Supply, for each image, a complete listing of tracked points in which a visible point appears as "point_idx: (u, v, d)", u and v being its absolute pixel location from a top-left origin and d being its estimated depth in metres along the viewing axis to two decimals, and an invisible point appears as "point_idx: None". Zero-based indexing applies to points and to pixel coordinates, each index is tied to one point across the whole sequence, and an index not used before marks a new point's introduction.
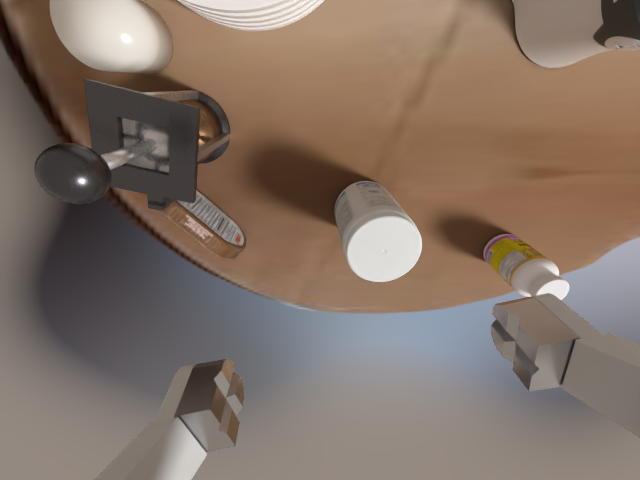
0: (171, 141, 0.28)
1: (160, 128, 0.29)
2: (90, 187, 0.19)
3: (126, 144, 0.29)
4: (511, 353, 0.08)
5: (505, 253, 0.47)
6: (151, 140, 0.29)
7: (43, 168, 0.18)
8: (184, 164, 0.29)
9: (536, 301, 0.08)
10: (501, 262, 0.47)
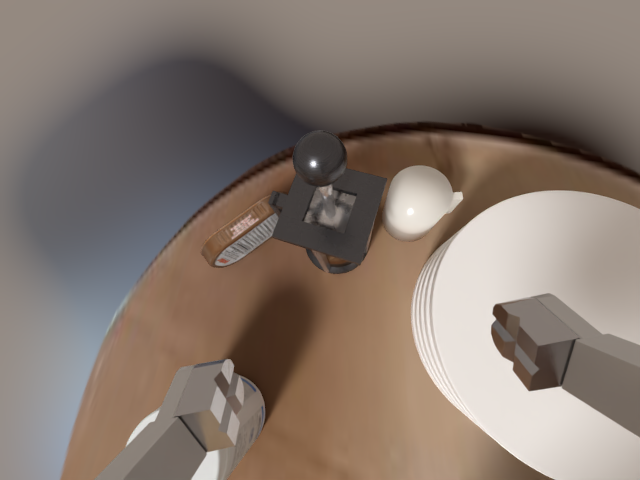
0: (333, 232, 0.29)
1: (344, 224, 0.31)
2: (307, 170, 0.20)
3: (332, 191, 0.32)
4: (511, 353, 0.08)
5: None
6: (334, 214, 0.31)
7: (329, 140, 0.20)
8: (310, 238, 0.29)
9: (536, 301, 0.08)
10: None
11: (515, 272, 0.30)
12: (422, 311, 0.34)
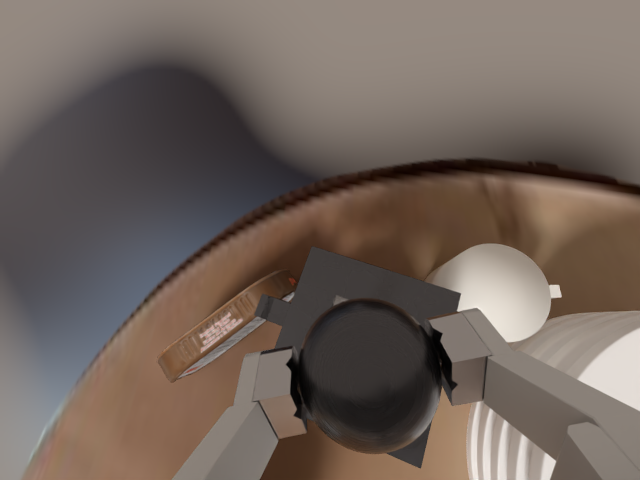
0: None
1: None
2: (339, 439, 0.07)
3: None
4: None
5: None
6: None
7: (406, 364, 0.07)
8: None
9: (462, 316, 0.08)
10: None
11: None
12: None
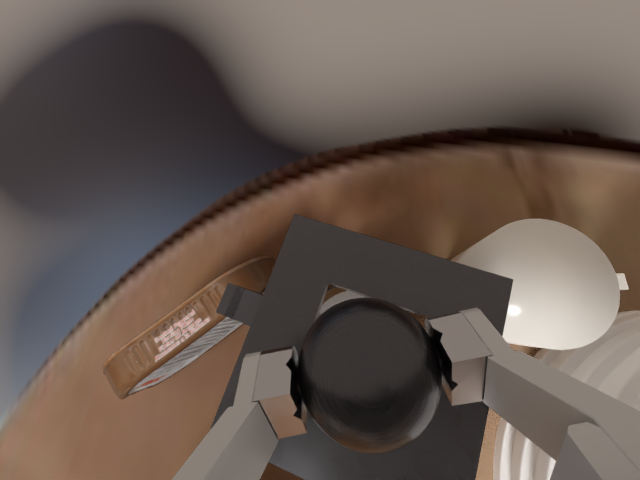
0: None
1: None
2: (339, 439, 0.07)
3: None
4: None
5: None
6: None
7: (406, 363, 0.07)
8: (312, 449, 0.11)
9: (462, 316, 0.08)
10: None
11: None
12: None
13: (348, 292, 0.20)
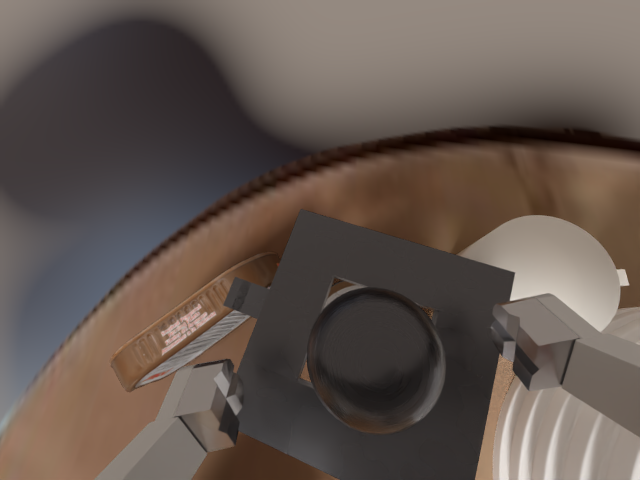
0: None
1: None
2: (347, 420, 0.07)
3: None
4: (511, 353, 0.08)
5: None
6: None
7: (412, 348, 0.07)
8: (318, 436, 0.11)
9: (536, 301, 0.08)
10: None
11: None
12: None
13: (352, 287, 0.20)
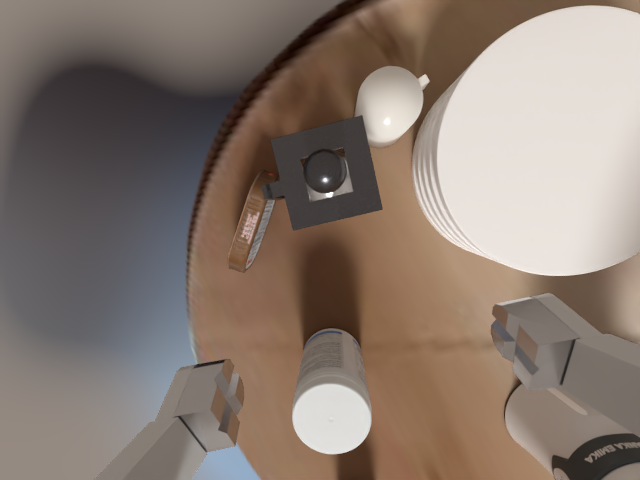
0: (343, 195, 0.30)
1: (344, 183, 0.37)
2: (325, 188, 0.25)
3: None
4: (511, 353, 0.08)
5: None
6: None
7: (330, 160, 0.25)
8: (327, 212, 0.30)
9: (536, 301, 0.08)
10: None
11: (502, 135, 0.31)
12: (434, 206, 0.37)
13: None
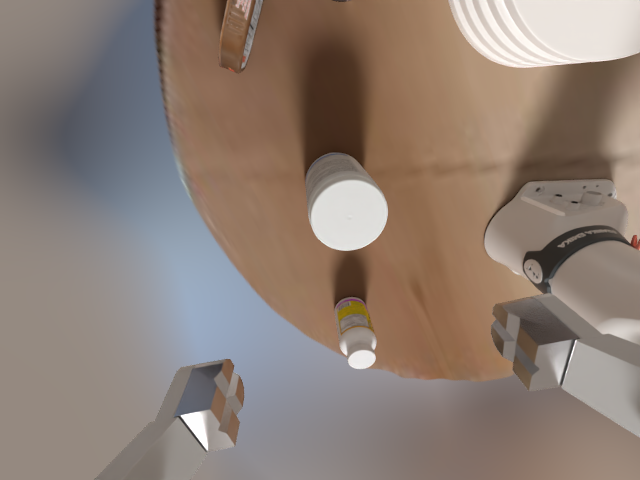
0: None
1: None
2: None
3: None
4: (511, 353, 0.08)
5: (358, 312, 0.53)
6: None
7: None
8: None
9: (536, 301, 0.08)
10: (350, 314, 0.53)
11: None
12: None
13: None
